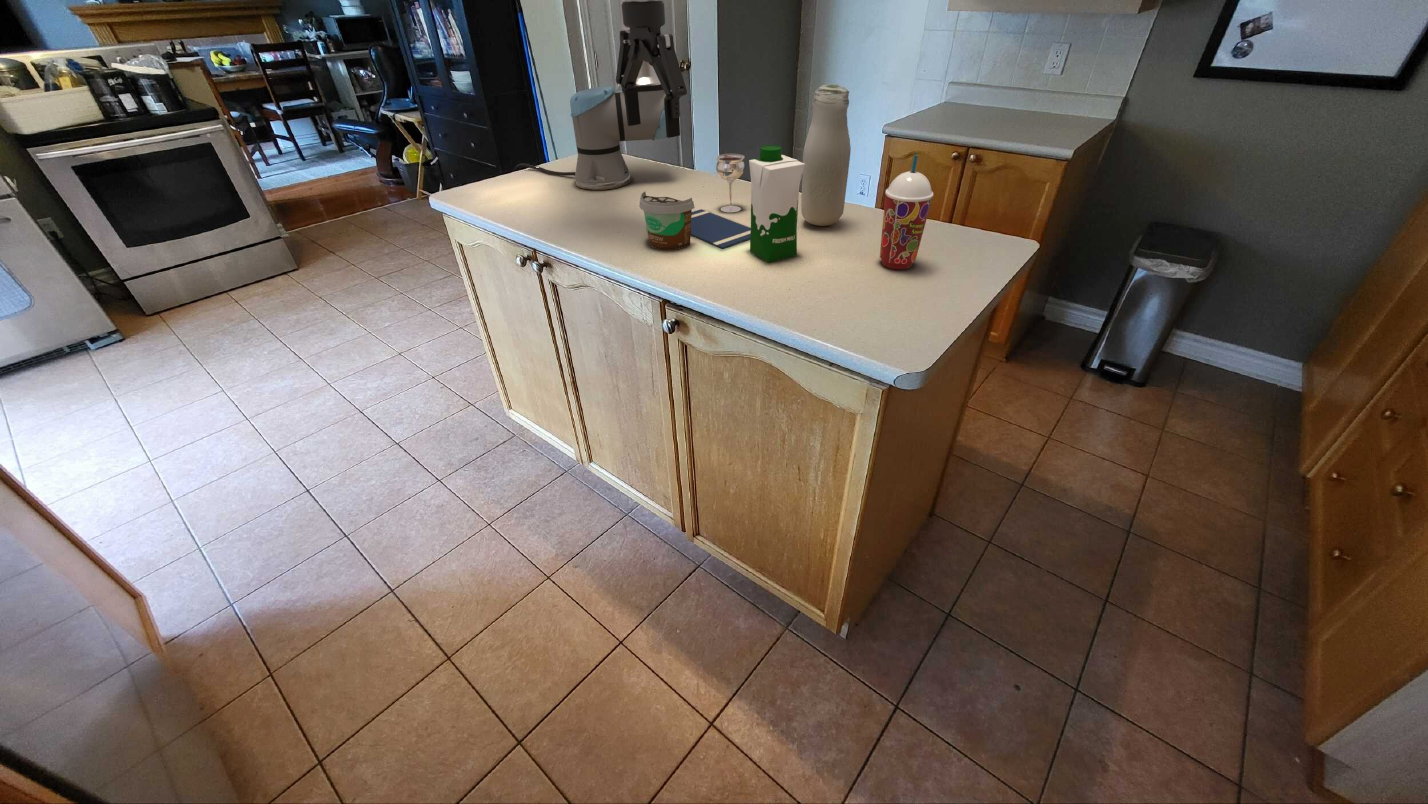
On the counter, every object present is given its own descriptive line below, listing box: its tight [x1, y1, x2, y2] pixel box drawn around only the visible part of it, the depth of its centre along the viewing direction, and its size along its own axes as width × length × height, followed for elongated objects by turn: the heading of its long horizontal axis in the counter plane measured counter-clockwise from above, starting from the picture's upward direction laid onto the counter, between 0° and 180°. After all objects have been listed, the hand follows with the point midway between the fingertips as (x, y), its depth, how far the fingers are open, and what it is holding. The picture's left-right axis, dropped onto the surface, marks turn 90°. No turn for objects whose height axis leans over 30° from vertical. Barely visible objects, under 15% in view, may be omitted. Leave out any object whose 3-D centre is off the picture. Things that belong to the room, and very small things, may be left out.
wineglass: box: [715, 153, 746, 213], centre depth 136 cm, size 7×7×12 cm
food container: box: [638, 190, 695, 251], centre depth 118 cm, size 12×6×10 cm, turn 63°
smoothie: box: [879, 154, 934, 270], centre depth 105 cm, size 8×8×20 cm
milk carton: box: [748, 144, 805, 264], centre depth 111 cm, size 9×9×20 cm
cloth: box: [691, 208, 751, 250], centre depth 129 cm, size 22×12×1 cm, turn 40°
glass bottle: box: [800, 84, 852, 227], centre depth 121 cm, size 10×10×28 cm
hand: (653, 130), depth 113 cm, fingers open, 13 cm apart
